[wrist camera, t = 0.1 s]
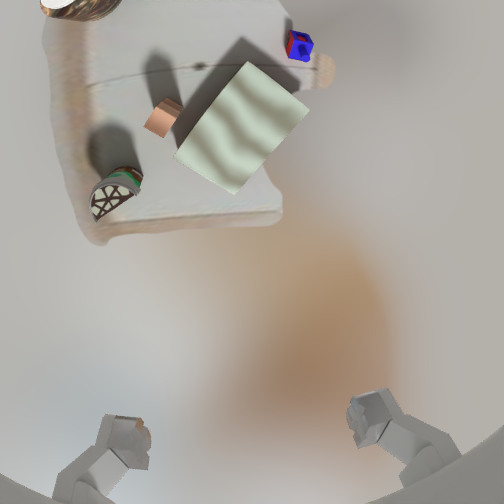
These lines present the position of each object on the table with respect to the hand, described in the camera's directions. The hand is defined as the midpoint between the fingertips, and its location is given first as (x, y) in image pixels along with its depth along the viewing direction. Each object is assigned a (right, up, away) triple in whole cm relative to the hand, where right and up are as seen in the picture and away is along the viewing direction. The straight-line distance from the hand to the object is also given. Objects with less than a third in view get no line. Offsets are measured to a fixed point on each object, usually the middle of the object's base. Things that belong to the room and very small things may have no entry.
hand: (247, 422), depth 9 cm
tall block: (-16, +33, +38) cm, 53 cm away
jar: (-29, +54, +18) cm, 64 cm away
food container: (-29, +23, +45) cm, 58 cm away
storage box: (-3, +31, +42) cm, 52 cm away
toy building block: (+8, +45, +32) cm, 56 cm away
